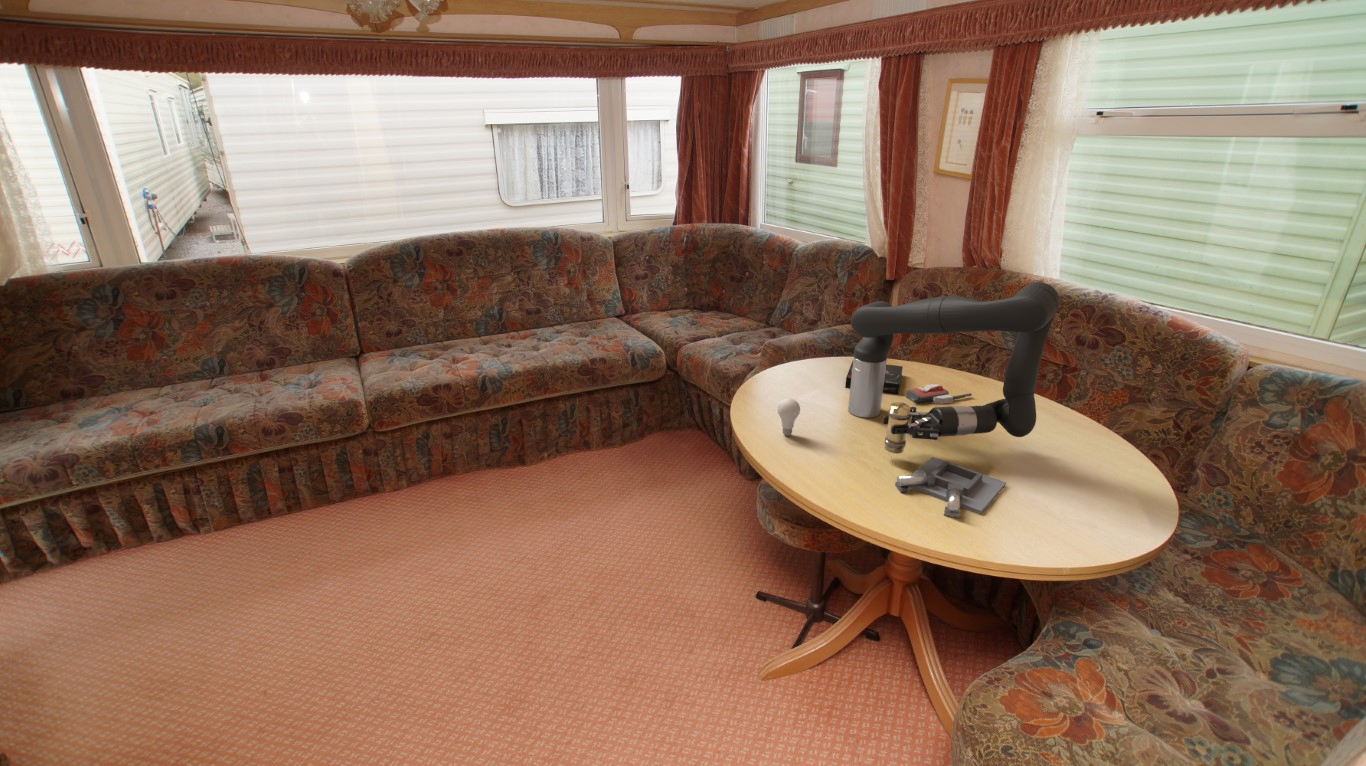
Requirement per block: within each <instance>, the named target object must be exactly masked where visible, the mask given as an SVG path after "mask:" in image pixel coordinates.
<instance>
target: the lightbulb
mask: <svg viewBox="0 0 1366 766" xmlns="http://www.w3.org/2000/svg"><path fill="white" fill-rule="evenodd" d="M776 408H777V414H778V416H779V418H780V420H781V426H782V434H783V435H784V436H787V437H788V436H789V435H792V433H793V428H794V426H795V421H796V420H797V418H798V416H799V415H800V413H801V406H800V404H799V402H798V401H797V400H796V399H794V398H791V397H786V398H784V399H782V400H780V402H778V404H777V407H776Z"/></svg>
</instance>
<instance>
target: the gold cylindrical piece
mask: <svg viewBox="0 0 1366 766" xmlns="http://www.w3.org/2000/svg"><path fill="white" fill-rule="evenodd" d="M910 407H911V406H910V405H909V404H908V403H904V402H900V401H899V402H892V403H891V404H890V407H889V410H888V415H889V420H888V424H887V429H886V436H885V437H884V449H885V451H887V452H889V453H892V454H902V453H904V451H905V447H906V442H907V440H906V437H907V434H906V433H905V434H892V433H891V426H892V425H903V424H906V425H908V419H909V418H910ZM910 419H911V418H910Z"/></svg>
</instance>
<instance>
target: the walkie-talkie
mask: <svg viewBox="0 0 1366 766" xmlns="http://www.w3.org/2000/svg"><path fill="white" fill-rule="evenodd" d="M949 393H950V391H948V390H947V389H945V388H944V387H943V386H942V385H940V384H939V383H932V384H931V383H930V384H926V385H925V386H920V387H919V386H918V387H917V388H911V389H907V390H906V395H905V397H906V399H907V400H909V401H911V402H912V403H914V404H916V405H925V404H931V403H932V404H936V405H937V404H938V405H943V404H944V405H945V404H951V403H953V401H955V400H959V399H960V400H961V399H964V398H966V397H971V396H973V394H972V393H965V394H963V393H962V394H959V395H958V394H957V395H951V394H949Z"/></svg>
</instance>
